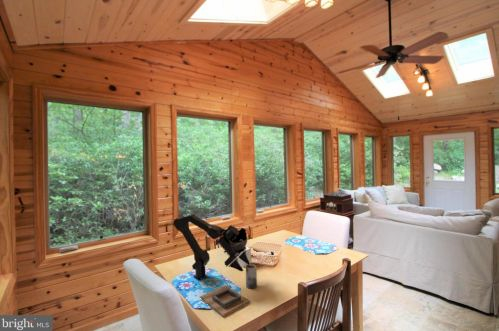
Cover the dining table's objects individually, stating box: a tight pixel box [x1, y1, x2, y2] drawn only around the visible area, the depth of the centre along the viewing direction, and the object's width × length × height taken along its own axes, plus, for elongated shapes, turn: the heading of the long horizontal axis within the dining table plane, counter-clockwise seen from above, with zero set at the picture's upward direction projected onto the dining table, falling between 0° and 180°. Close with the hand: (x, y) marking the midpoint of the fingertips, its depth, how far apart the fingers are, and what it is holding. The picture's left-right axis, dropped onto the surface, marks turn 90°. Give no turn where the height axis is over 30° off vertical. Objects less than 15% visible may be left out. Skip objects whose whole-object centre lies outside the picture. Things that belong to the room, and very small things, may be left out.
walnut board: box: [199, 284, 251, 318], centre depth 123 cm, size 20×16×3 cm
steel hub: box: [245, 263, 258, 290], centre depth 137 cm, size 6×6×11 cm
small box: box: [236, 246, 252, 268], centre depth 165 cm, size 8×6×10 cm
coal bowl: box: [223, 227, 248, 247], centre depth 187 cm, size 20×20×19 cm
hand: (246, 267), depth 138 cm, fingers open, 9 cm apart
